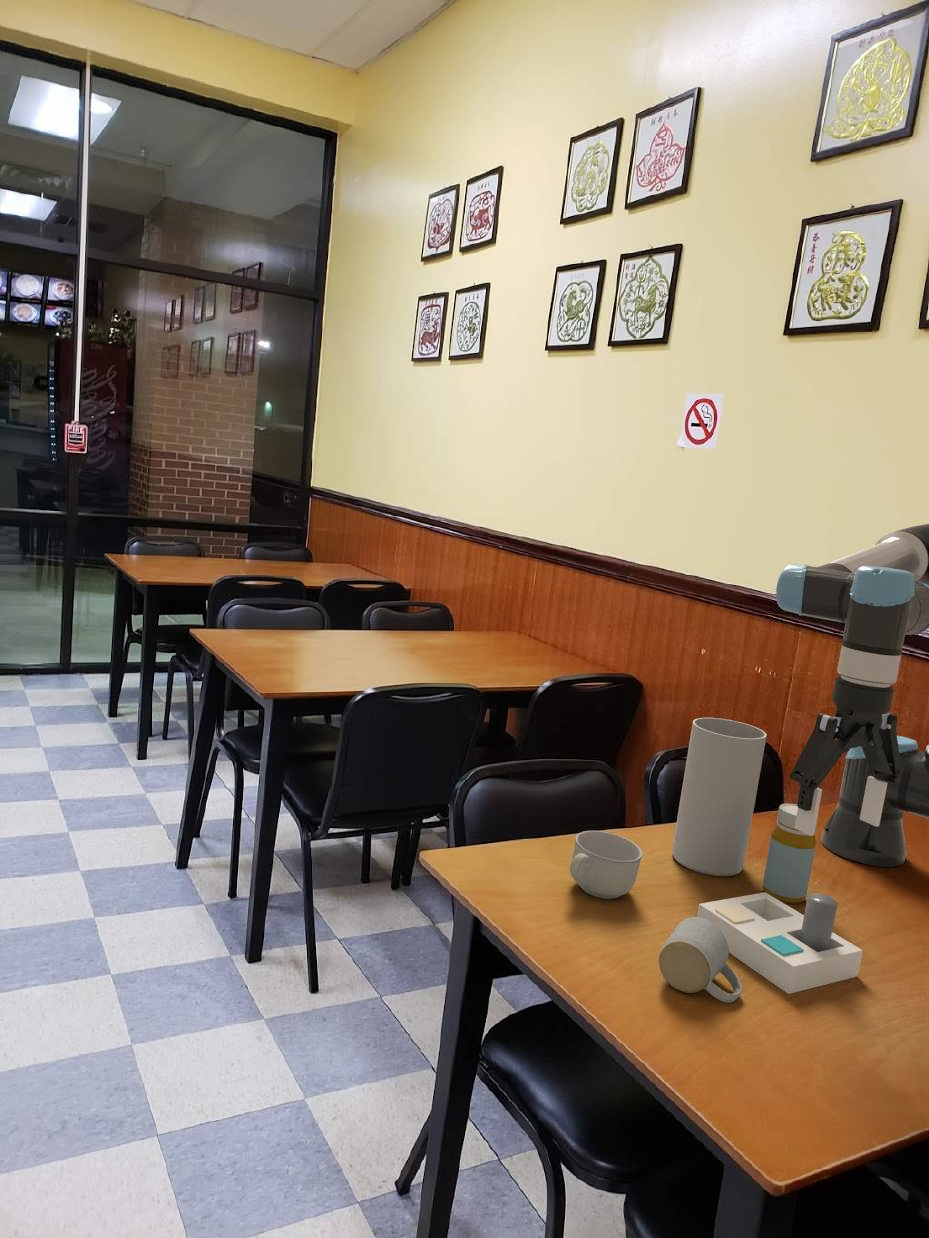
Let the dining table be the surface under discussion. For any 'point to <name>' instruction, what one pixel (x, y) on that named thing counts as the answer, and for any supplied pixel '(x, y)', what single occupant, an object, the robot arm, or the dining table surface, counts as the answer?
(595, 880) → the teacup
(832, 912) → the plug
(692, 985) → the ceramic mug
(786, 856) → the bottle
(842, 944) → the socket block
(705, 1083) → the dining table surface
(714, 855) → the cylinder vase
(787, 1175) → the dining table surface
